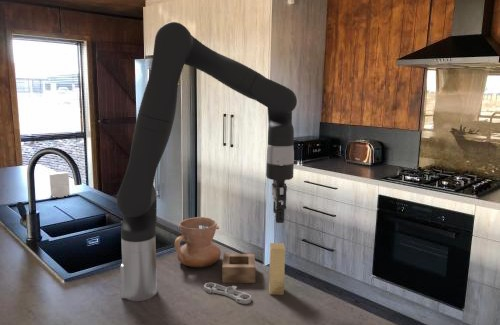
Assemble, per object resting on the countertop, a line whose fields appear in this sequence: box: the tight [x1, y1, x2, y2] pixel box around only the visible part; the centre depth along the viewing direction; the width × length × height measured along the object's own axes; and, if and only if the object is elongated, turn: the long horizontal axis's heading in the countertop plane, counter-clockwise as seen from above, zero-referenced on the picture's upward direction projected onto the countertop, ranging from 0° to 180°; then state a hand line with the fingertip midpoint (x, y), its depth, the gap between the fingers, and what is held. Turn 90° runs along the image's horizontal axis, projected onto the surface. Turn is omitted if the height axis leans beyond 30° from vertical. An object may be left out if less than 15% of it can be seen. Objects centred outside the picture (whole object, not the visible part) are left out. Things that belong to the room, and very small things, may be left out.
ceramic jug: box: [174, 216, 222, 268], centre depth 137 cm, size 18×14×14 cm
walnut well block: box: [221, 253, 256, 284], centre depth 129 cm, size 10×10×5 cm
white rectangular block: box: [49, 171, 71, 198], centre depth 216 cm, size 9×9×12 cm
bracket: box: [203, 282, 252, 305], centre depth 117 cm, size 8×2×15 cm
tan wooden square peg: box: [268, 242, 286, 296], centre depth 118 cm, size 4×4×14 cm
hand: (278, 217), depth 115 cm, fingers open, 8 cm apart
